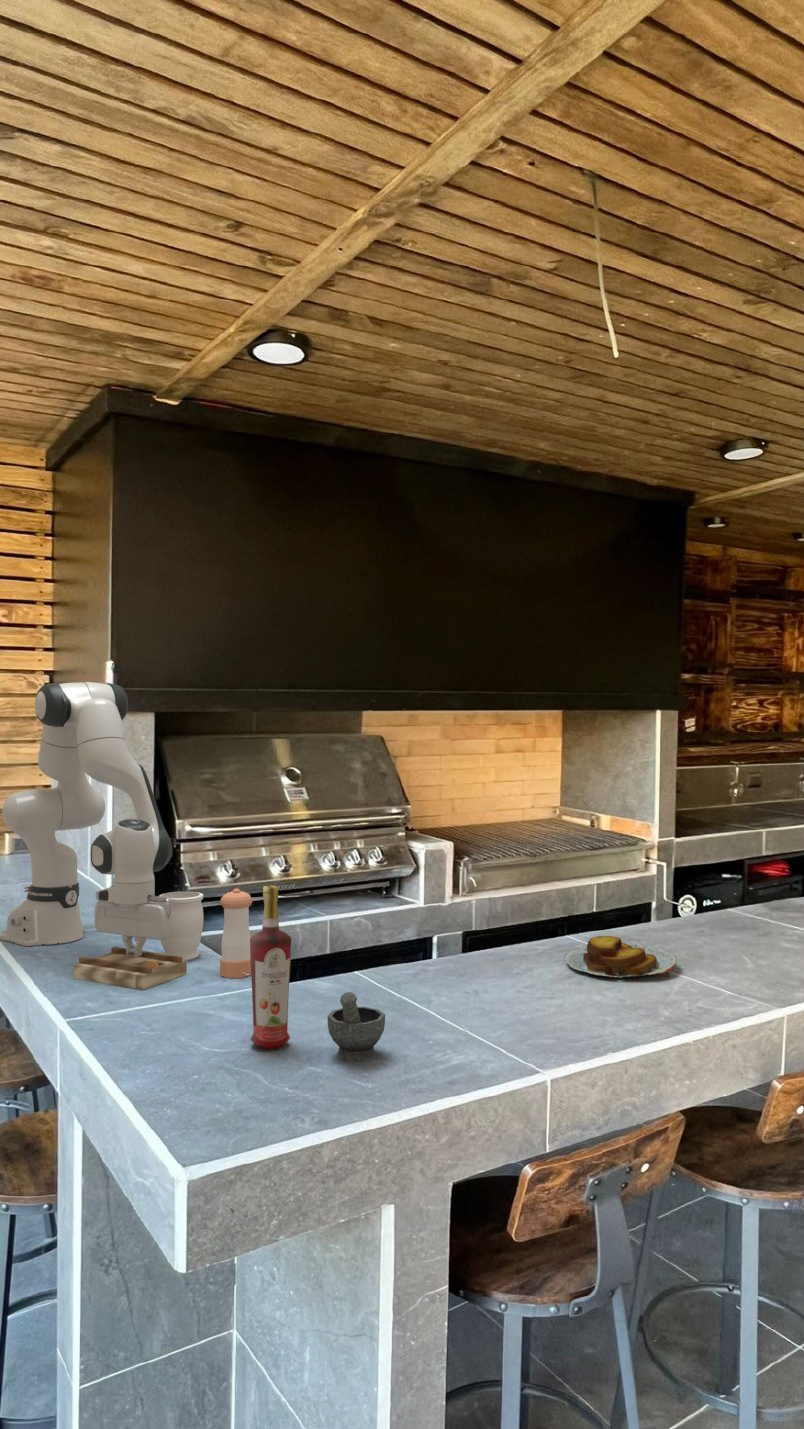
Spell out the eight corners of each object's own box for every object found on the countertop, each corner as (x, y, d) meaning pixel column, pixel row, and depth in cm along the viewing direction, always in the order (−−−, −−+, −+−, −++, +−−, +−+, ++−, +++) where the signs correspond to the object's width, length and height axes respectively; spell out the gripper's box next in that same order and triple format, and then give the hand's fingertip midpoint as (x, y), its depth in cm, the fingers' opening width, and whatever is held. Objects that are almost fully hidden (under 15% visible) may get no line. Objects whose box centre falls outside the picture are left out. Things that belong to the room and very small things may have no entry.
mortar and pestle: (338, 1043, 168) (338, 975, 168) (389, 1047, 166) (389, 979, 166) (318, 1066, 158) (319, 993, 158) (373, 1071, 155) (373, 997, 155)
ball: (136, 979, 208) (137, 961, 208) (148, 974, 211) (150, 957, 211) (150, 983, 206) (152, 965, 206) (162, 978, 210) (164, 961, 210)
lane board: (73, 978, 210) (73, 959, 210) (118, 963, 222) (118, 945, 222) (143, 989, 201) (143, 970, 201) (186, 973, 213) (186, 955, 213)
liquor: (255, 1055, 162) (255, 891, 162) (244, 1041, 169) (245, 884, 169) (296, 1049, 165) (296, 888, 165) (284, 1036, 172) (284, 882, 172)
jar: (208, 952, 232) (209, 891, 232) (195, 963, 222) (195, 899, 222) (166, 951, 233) (167, 890, 233) (151, 962, 223) (151, 898, 223)
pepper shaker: (245, 979, 209) (245, 892, 209) (214, 977, 210) (214, 891, 210) (257, 970, 216) (257, 886, 216) (227, 968, 218) (227, 885, 218)
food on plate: (696, 980, 210) (696, 951, 210) (591, 987, 205) (591, 957, 205) (644, 951, 235) (644, 925, 235) (549, 957, 230) (549, 930, 229)
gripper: (180, 895, 209) (180, 957, 209) (110, 887, 218) (109, 947, 218) (161, 900, 203) (161, 964, 203) (89, 892, 212) (89, 953, 212)
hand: (134, 955), depth 211 cm, fingers closed
